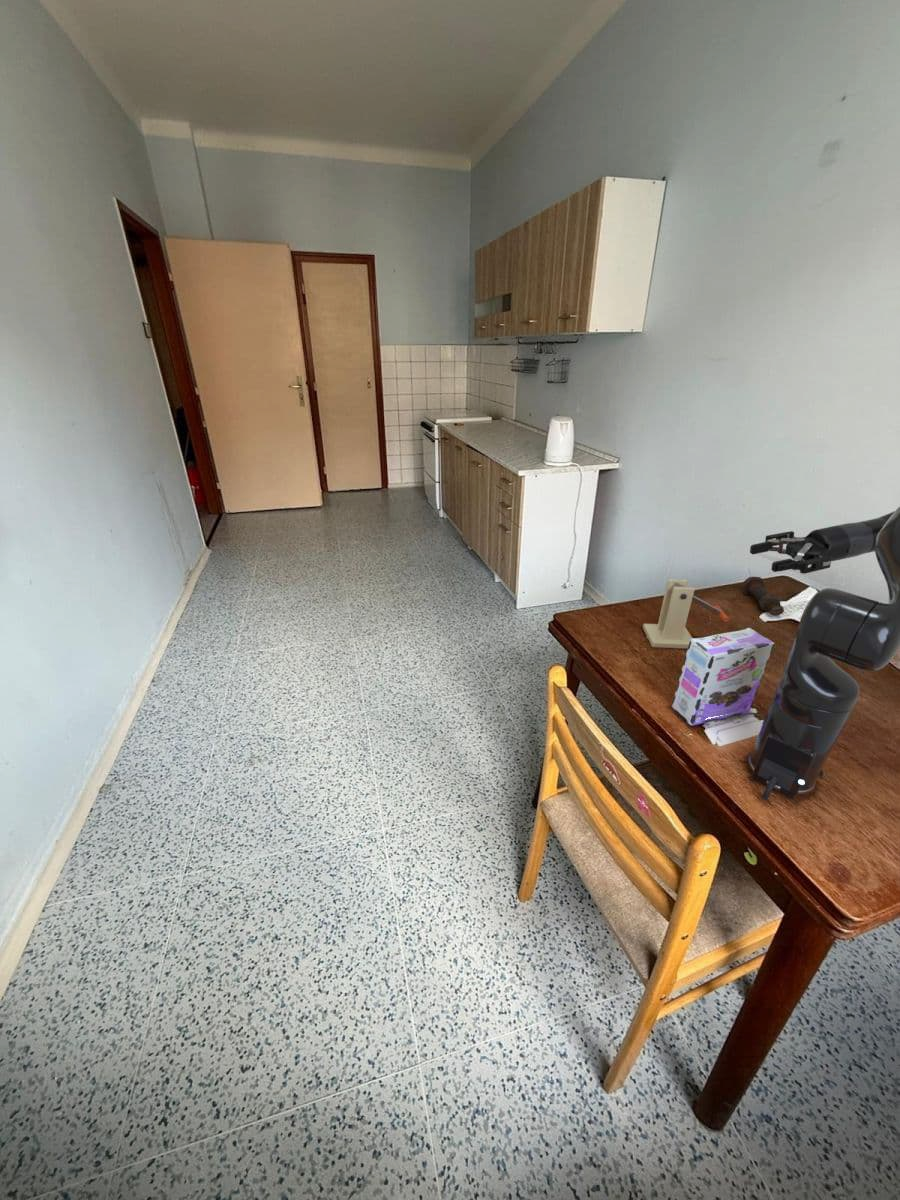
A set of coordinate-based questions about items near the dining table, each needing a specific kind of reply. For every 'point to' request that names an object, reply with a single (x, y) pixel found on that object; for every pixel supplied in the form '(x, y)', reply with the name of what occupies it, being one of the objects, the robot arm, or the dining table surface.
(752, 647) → the candy box
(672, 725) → the dining table surface
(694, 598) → the lever
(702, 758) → the dining table surface
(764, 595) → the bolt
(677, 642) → the bracket
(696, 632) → the dining table surface
